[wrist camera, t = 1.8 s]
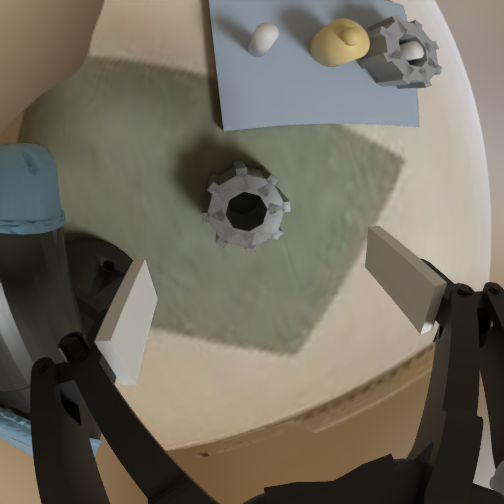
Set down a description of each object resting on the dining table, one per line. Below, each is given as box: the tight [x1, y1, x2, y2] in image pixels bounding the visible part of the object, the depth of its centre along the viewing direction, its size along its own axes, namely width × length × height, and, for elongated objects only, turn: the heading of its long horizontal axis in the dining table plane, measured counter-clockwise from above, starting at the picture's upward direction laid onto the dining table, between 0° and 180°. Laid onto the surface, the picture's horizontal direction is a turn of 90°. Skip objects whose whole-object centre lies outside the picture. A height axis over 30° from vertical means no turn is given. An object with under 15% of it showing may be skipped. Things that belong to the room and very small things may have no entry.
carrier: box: [209, 0, 442, 131], centre depth 19 cm, size 22×16×7 cm
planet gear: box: [201, 160, 290, 253], centre depth 26 cm, size 8×8×5 cm
